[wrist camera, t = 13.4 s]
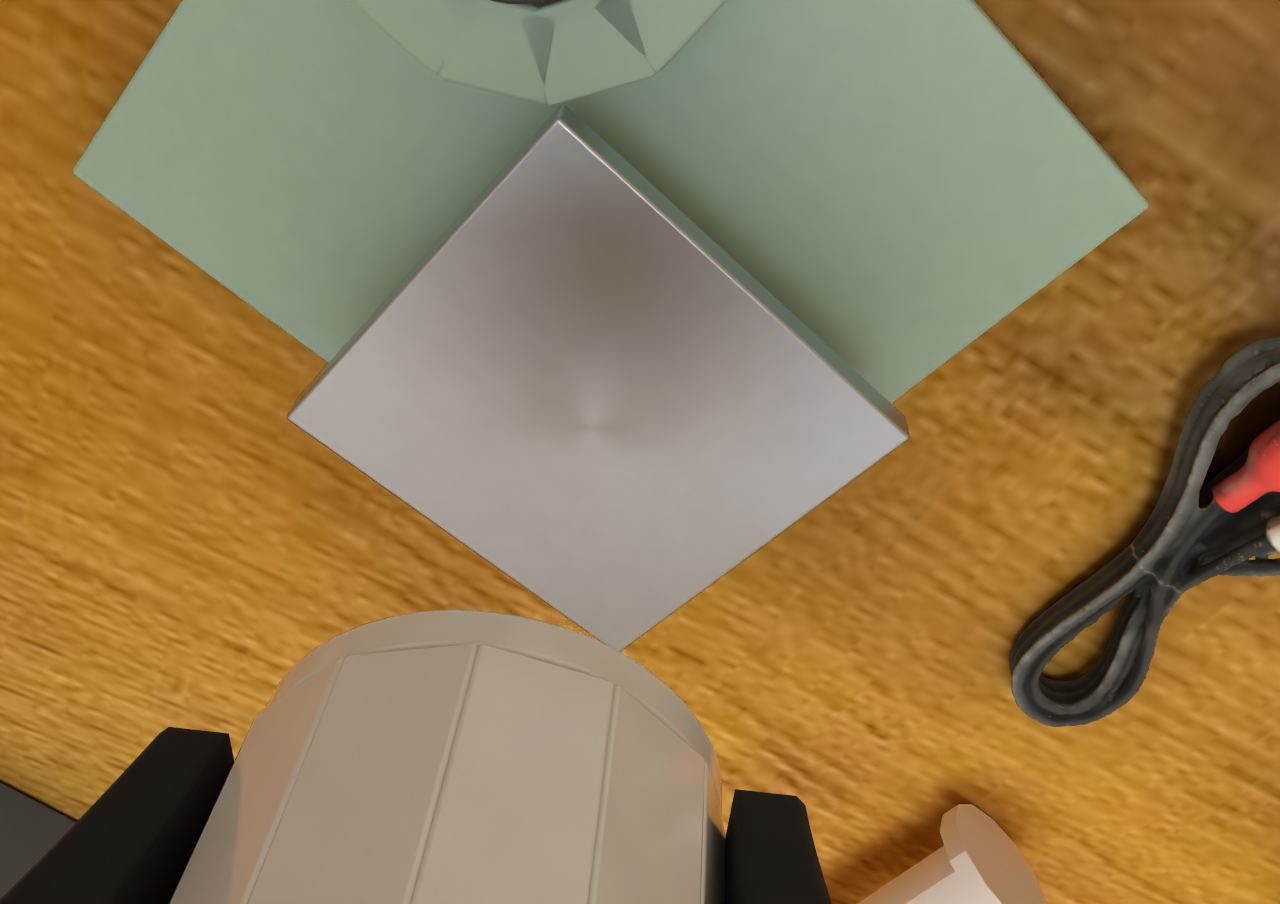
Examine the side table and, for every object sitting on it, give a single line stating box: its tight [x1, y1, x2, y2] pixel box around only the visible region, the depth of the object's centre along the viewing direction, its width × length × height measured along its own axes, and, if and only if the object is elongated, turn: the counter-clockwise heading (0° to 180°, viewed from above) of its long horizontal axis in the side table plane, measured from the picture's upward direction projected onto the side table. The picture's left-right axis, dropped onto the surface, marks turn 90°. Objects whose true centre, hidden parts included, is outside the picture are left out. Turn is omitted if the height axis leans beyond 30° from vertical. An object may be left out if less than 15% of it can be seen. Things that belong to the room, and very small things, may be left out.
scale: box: [73, 0, 1148, 403], centre depth 17 cm, size 12×11×2 cm
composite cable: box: [1009, 337, 1280, 727], centre depth 20 cm, size 10×5×2 cm, turn 144°
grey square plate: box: [287, 104, 910, 652], centre depth 17 cm, size 7×6×1 cm
